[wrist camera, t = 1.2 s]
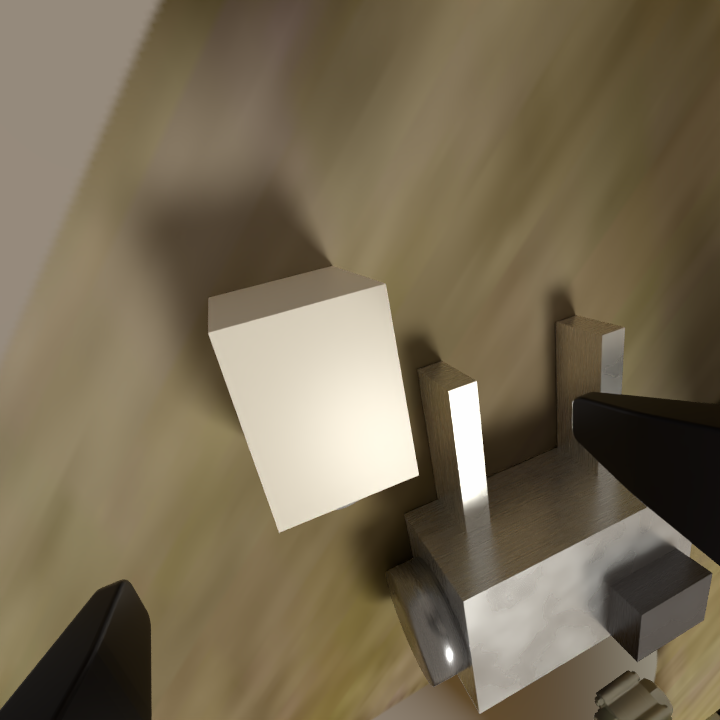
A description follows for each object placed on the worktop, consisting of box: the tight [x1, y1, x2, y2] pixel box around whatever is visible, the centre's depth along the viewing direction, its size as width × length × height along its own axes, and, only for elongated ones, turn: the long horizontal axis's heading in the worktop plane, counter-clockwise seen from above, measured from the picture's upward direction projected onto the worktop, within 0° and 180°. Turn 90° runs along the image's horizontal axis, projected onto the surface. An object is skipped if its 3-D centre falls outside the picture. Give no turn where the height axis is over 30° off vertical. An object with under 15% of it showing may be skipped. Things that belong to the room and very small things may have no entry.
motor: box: [386, 315, 712, 714], centre depth 18 cm, size 14×14×6 cm
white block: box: [208, 266, 419, 533], centre depth 13 cm, size 4×7×5 cm, turn 12°
